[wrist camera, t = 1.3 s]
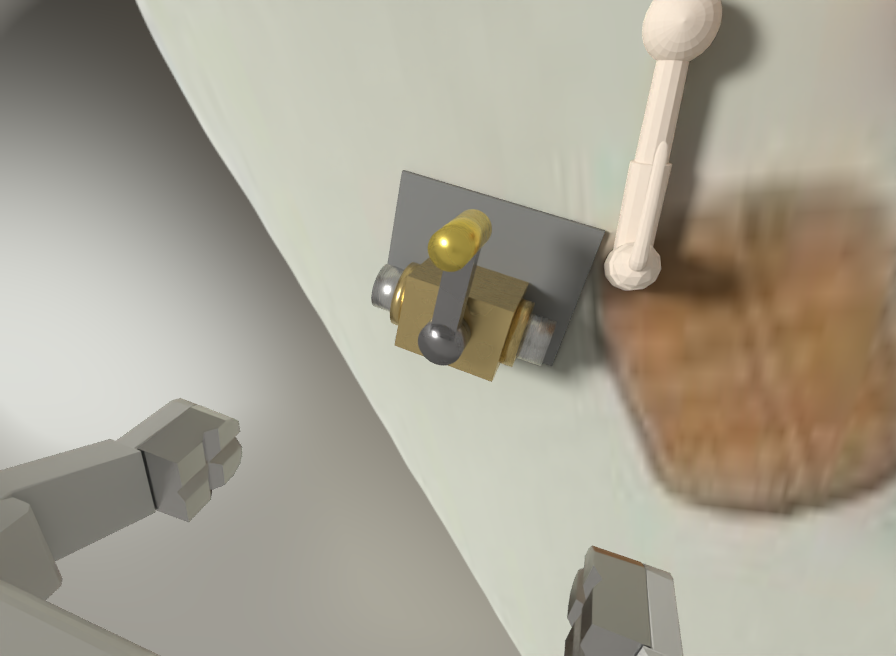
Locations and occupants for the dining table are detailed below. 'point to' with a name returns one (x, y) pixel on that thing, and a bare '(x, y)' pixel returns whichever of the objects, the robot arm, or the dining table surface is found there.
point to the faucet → (658, 134)
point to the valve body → (467, 316)
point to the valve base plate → (502, 244)
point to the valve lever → (453, 285)
